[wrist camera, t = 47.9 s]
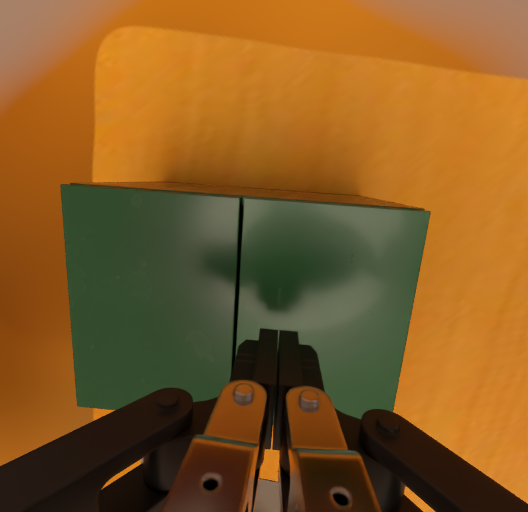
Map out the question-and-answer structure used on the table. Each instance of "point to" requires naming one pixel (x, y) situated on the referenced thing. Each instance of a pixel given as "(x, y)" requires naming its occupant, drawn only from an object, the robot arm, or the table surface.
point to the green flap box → (158, 284)
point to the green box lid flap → (334, 289)
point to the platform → (266, 496)
